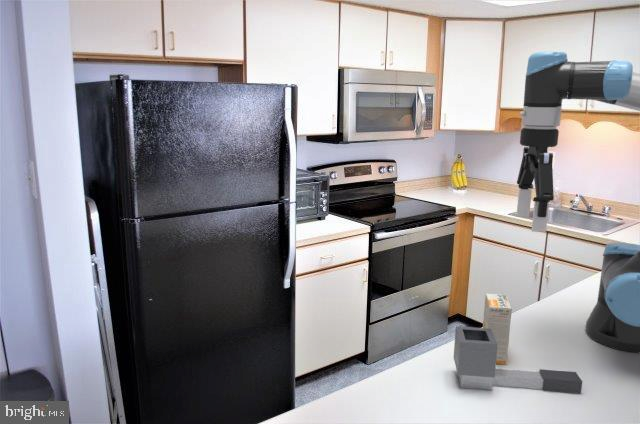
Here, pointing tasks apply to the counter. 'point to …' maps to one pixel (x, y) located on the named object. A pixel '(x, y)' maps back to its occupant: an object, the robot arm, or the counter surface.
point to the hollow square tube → (475, 351)
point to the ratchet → (526, 380)
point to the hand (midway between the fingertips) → (530, 223)
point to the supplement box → (498, 322)
